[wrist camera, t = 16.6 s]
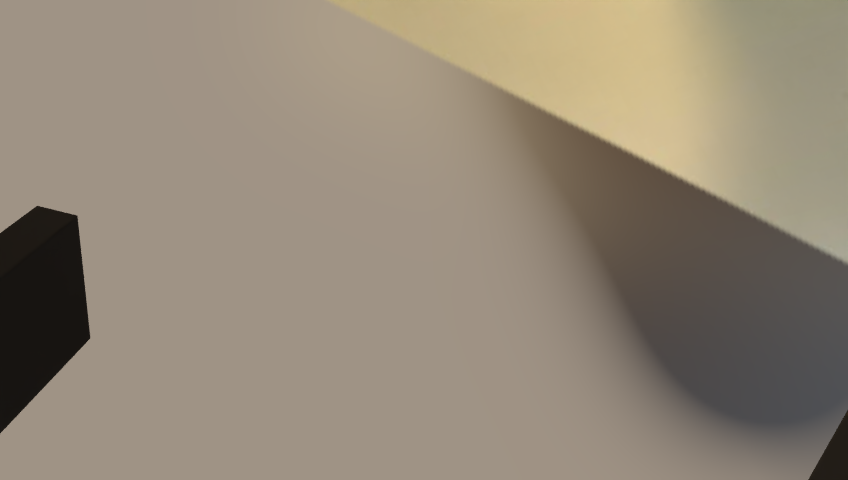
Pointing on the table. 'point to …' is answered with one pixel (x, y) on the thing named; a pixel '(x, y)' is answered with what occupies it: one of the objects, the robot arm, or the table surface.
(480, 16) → the table surface
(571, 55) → the table surface
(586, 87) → the table surface
